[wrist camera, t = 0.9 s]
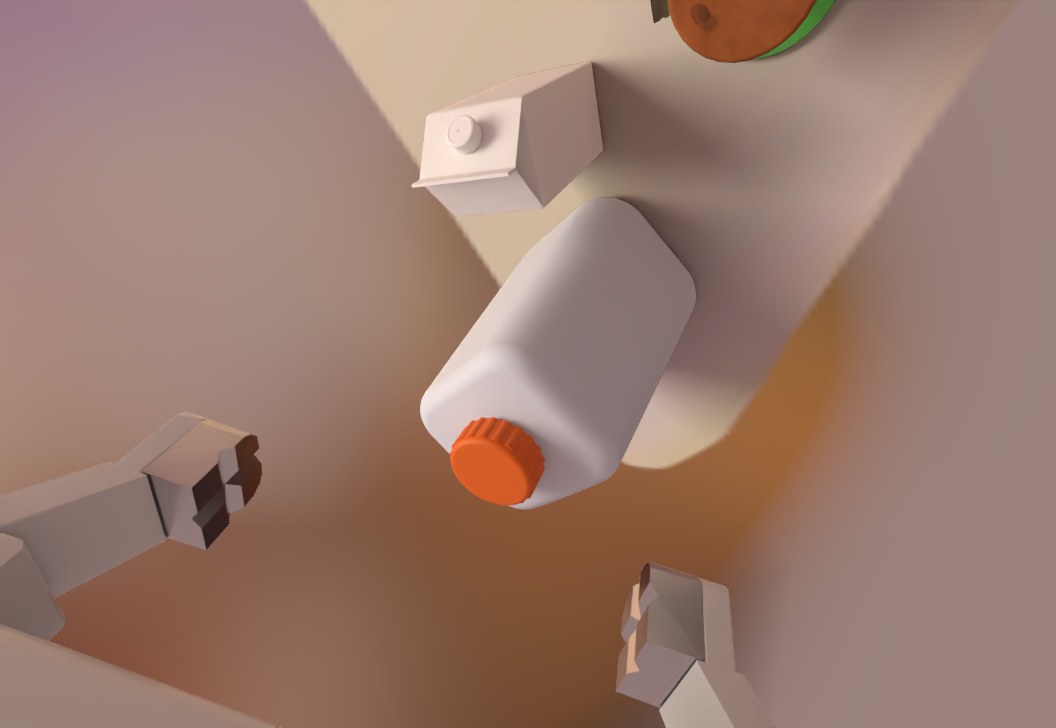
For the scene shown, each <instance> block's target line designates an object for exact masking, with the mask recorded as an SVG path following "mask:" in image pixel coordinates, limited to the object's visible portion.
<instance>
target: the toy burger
mask: <svg viewBox="0 0 1056 728" xmlns="http://www.w3.org/2000/svg"><path fill="white" fill-rule="evenodd" d="M834 1H835V0H651V8H652V14H653V21H654V23H656V22H658V21H659V20H660V19H661V18H662V17H665V18H667V17H669V12H670V15H671V18H672V21H673V24H674V26H675V28H676V30H677V32H678V33H679V35H680V36H681V38H682V40H683V41H684V42H685V43H686V44H687V45H688V46H689V47H690V48H691V49H692V50H693V51H695V52H697V53H698V54H700V55H702V56H703V57H705V58H708V59H711V60H715V61H718V62H729V63H736V62H742V61H748V60H752V59H758V58H763V57H767V56H770V55H773V54H776V53H779V52H781V51H783V50H785V49H787V48H789V47H790V46H792V45H794V44H795V43H797V42H798V41H800V40H801V39H802V38H803V37H805V36H806V35H807V34H808V33H809V32H810V31H811V30H812V29H813V28H815V26H816V25H817V24H818V23H819V22H820V21H821V20H822V18H823V17H824V16H825V15H826V13H827V12H828V11H829V9H830V7H831V6H832V4H833V3H834ZM668 6H669V8H668Z"/></svg>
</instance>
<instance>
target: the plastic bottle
mask: <svg viewBox="0 0 1056 728" xmlns="http://www.w3.org/2000/svg"><path fill="white" fill-rule="evenodd" d="M695 303H696V288H695V284H694V281H693V279H692V277H691V275H690V273H689V272H688V271H687V269H686V268H685V267H684V266H683V264H682V263H681V262H680V261H679V260H678V258H677V257H676V256H675V255H674V253H673V252H672V251H671V250H670V249H669V247H668V246H667V245H666V244H665V242H664V241H663V240H662V239H661V238H660V236H659V235H658V234H657V233H656V231H655V230H654V229H653V228H652V227H651V225H650V224H649V223H648V222H647V220H646V219H645V218H644V217H643V216H642V214H641V213H640V212H639V211H638V210H637V209H636V208H634V207H633V206H632V205H630V204H628V203H627V202H625V201H622V200H619V199H616V198H608V197H603V198H596V199H592V200H590V201H587V202H585V203H583V204H582V205H580V206H579V207H578V208H577V209H575V210H574V211H573V212H572V213H571V214H570V215H569V216H567V217H566V218H565V219H564V220H563V221H562V222H561V223H559V224H558V225H557V226H556V227H555V228H554V229H552V230H551V231H550V232H549V233H548V234H547V235H546V236H544V237H543V238H542V239H541V240H540V241H539V242H537V243H536V244H535V245H534V246H533V247H532V248H531V249H530V250H529V251H528V252H527V253H526V254H525V256H524V257H523V258H522V260H521V261H520V263H519V264H518V265H517V267H516V268H515V269H514V271H513V272H512V274H511V275H510V276H509V278H508V279H507V281H506V282H505V283H504V285H503V286H502V287H501V289H500V290H499V292H498V293H497V294H496V296H495V297H494V298H493V300H492V301H491V303H490V304H489V305H488V307H487V308H486V310H485V311H484V313H483V314H482V315H481V316H480V318H479V319H478V321H477V322H476V323H475V325H474V326H473V327H472V329H471V330H470V332H469V333H468V334H467V336H466V337H465V338H464V340H463V342H462V343H461V344H460V345H459V347H458V348H457V349H456V351H455V352H454V354H453V355H452V356H451V358H450V359H449V361H448V362H447V363H446V365H445V366H444V367H443V369H442V370H441V372H440V373H439V374H438V376H437V377H436V378H435V380H434V381H433V383H432V384H431V385H430V387H429V388H428V389H427V391H426V392H425V394H424V396H423V398H422V401H421V407H420V412H421V417H422V421H423V423H424V425H425V427H426V428H427V430H428V431H429V433H430V434H431V435H432V436H433V437H434V438H435V439H436V440H437V441H438V442H439V443H440V444H441V445H442V446H443V447H444V449H445V450H446V451H447V452H448V453H449V454H450V457H451V465H452V468H453V471H454V473H455V475H456V476H457V478H458V479H459V481H460V482H461V483H462V484H463V485H464V486H465V487H466V488H467V489H468V490H469V491H470V492H472V493H473V494H475V495H476V496H478V497H479V498H481V499H483V500H486V501H488V502H491V503H494V504H498V505H506V506H507V505H508V506H510V507H513V508H517V509H532V508H537V507H539V506H542V505H545V504H548V503H550V502H553V501H556V500H558V499H561V498H564V497H567V496H569V495H571V494H574V493H576V492H579V491H581V490H584V489H586V488H589V487H591V486H593V485H596V484H598V483H600V482H602V481H604V480H606V479H608V478H609V477H610V476H611V475H612V474H613V473H614V472H615V471H616V470H617V468H618V466H619V464H620V462H621V460H622V458H623V456H624V454H625V452H626V450H627V448H628V446H629V443H630V441H631V439H632V437H633V435H634V433H635V431H636V429H637V427H638V425H639V423H640V420H641V418H642V416H643V414H644V412H645V410H646V408H647V406H648V404H649V402H650V400H651V397H652V395H653V393H654V391H655V389H656V387H657V385H658V383H659V381H660V379H661V377H662V374H663V372H664V370H665V368H666V366H667V364H668V362H669V360H670V358H671V356H672V354H673V351H674V349H675V347H676V345H677V343H678V341H679V339H680V337H681V335H682V333H683V331H684V328H685V326H686V324H687V322H688V320H689V318H690V316H691V314H692V312H693V309H694V307H695Z"/></svg>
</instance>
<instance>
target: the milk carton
mask: <svg viewBox="0 0 1056 728" xmlns="http://www.w3.org/2000/svg"><path fill="white" fill-rule="evenodd" d="M602 151H603V144H602V136H601V129H600V121H599V114H598V107H597V99H596V92H595V84H594V77H593V70H592V63H591V62H585V63H580V64H575V65H570V66H565V67H560V68H556V69H551V70H546V71H541V72H537V73H532V74H527V75H522V76H518V77H515V78H512V79H510V80H508V81H505V82H503V83H501V84H498V85H496V86H494V87H491V88H489V89H487V90H484V91H482V92H480V93H477V94H475V95H473V96H470V97H468V98H465V99H463V100H461V101H458V102H456V103H454V104H451V105H449V106H447V107H444V108H442V109H440V110H437V111H435V112H433V113H431V114H429V115H428V116H427V118H426V126H425V135H424V144H423V154H422V163H421V172H420V180H419V181H417V182H416V183H414V184H412V187H413V188H414V187H422V186H425V187H426V188H427V189H428V190H429V191H430V192H431V193H432V194H433V195H434V196H435V197H436V198H437V199H438V200H439V201H440V202H441V203H442V204H444V205H445V206H446V207H447V208H448V209H449V210H450V211H451V212H452V213H453V214H454V215H455V216H470V215H481V214H492V213H503V212H514V211H525V210H535V209H543V208H544V207H545V206H546V205H547V204H548V203H549V202H550V201H551V200H553V199H554V198H555V197H556V196H557V195H558V194H559V193H560V192H561V191H562V190H563V189H564V188H565V187H566V186H567V185H568V184H569V183H570V182H571V181H572V180H573V179H574V178H575V177H576V176H577V175H578V174H579V173H580V172H581V171H582V170H584V169H585V168H586V167H587V166H588V165H589V164H590V163H591V162H592V161H593V160H594V159H595V158H596V157H597V156H598V155H599V154H600V153H601V152H602Z"/></svg>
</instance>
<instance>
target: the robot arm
mask: <svg viewBox="0 0 1056 728" xmlns="http://www.w3.org/2000/svg"><path fill="white" fill-rule="evenodd" d="M258 449H259V443H258V438H257V436H255V435H252V434H249V433H246V432H244V431H241V430H238V429H235V428H232V427H230V426H227V425H224V424H221V423H218V422H215V421H212V420H209V419H207V418H204V417H201V416H198V415H195V414H192V413H189V412H184V413H181V414H178V415H176V416H174V417H173V418H172V419H171V420H169V421H168V422H167V423H166V424H164V425H163V426H162V427H161V428H159V429H158V430H157V431H156V432H154V433H153V434H152V435H151V436H149V437H148V438H147V439H146V440H144V441H143V442H142V443H141V444H140V445H138V446H137V447H136V448H134V449H133V450H132V451H131V452H129V453H128V454H127V455H126V456H124V457H123V458H122V459H121V460H119V461H118V462H117V463H116V464H114V463H110V462H106V463H103V464H100V465H97V466H94V467H90V468H87V469H84V470H81V471H78V472H74V473H71V474H68V475H65V476H62V477H59V478H55V479H52V480H49V481H46V482H43V483H40V484H37V485H33V486H30V487H27V488H24V489H21V490H17V491H15V492H11V493H8V494H5V495H2V496H0V728H283V727H280V726H277V725H274V724H272V723H269V722H267V721H264V720H261V719H258V718H256V717H253V716H250V715H247V714H245V713H242V712H239V711H237V710H234V709H231V708H228V707H226V706H223V705H220V704H218V703H215V702H212V701H209V700H206V699H204V698H201V697H199V696H196V695H193V694H190V693H188V692H185V691H182V690H180V689H177V688H174V687H171V686H169V685H166V684H163V683H161V682H158V681H155V680H152V679H150V678H147V677H144V676H141V675H139V674H136V673H134V672H131V671H128V670H125V669H123V668H120V667H117V666H114V665H112V664H109V663H106V662H104V661H101V660H98V659H95V658H93V657H90V656H87V655H85V654H82V653H79V652H77V651H74V650H71V649H68V648H66V647H63V646H60V645H57V644H55V643H52V642H49V640H50V639H51V638H52V637H53V636H54V635H55V634H56V633H57V632H58V631H59V630H60V629H61V628H62V627H63V626H64V624H65V616H64V614H63V613H62V611H61V609H60V607H59V605H58V603H57V601H56V600H55V598H56V597H58V596H60V595H61V594H63V593H65V592H67V591H69V590H71V589H73V588H75V587H77V586H79V585H81V584H83V583H85V582H87V581H89V580H90V579H92V578H94V577H96V576H98V575H100V574H102V573H104V572H105V571H108V570H110V569H112V568H114V567H115V566H117V565H119V564H121V563H123V562H125V561H127V560H129V559H131V558H133V557H135V556H136V555H139V554H140V553H142V552H144V551H146V550H148V549H150V548H152V547H154V546H156V545H158V544H160V543H162V542H163V541H165V540H166V538H169V539H172V540H175V541H179V542H182V543H185V544H189V545H191V546H195V547H198V548H201V549H204V550H207V549H208V548H209V547H210V545H211V544H212V543H213V542H214V541H215V540H216V539H217V538H218V536H219V535H220V534H221V533H222V532H223V531H224V530H225V528H226V527H227V526H228V525H229V524H230V523H229V522H230V513H231V512H234V511H236V510H238V509H241V508H243V507H245V506H246V504H247V503H248V502H249V501H250V500H251V498H252V497H253V496H254V494H255V492H256V490H257V488H258V486H259V484H260V482H261V476H262V465H261V463H260V461H259V460H258V459H257V458H256V456H255V455H254V453H255V452H256V451H257V450H258ZM621 634H622V636H623V638H624V640H625V642H626V644H625V646H624V648H623V650H622V651H621V653H620V655H619V660H618V673H617V683H616V691H617V692H619V693H622V694H624V695H627V696H630V697H632V698H635V699H638V700H640V701H643V702H646V703H649V704H651V705H654V706H656V707H659V708H660V710H659V711H660V713H661V716H662V718H663V721H664V724H665V726H666V728H776V727H775V725H774V724H773V722H772V720H771V719H770V717H769V716H768V714H767V712H766V711H765V709H764V707H763V706H762V704H761V703H760V701H759V699H758V697H757V696H756V694H755V693H754V691H753V689H752V688H751V686H750V684H749V683H748V681H747V679H746V678H745V676H744V675H741V674H738V673H736V667H735V656H734V646H733V634H732V622H731V612H730V600H729V592H728V590H727V588H726V587H725V586H722V585H719V584H716V583H713V582H710V581H707V580H704V579H700V578H698V577H696V576H693V575H689V574H686V573H683V572H680V571H677V570H673V569H670V568H667V567H664V566H661V565H657V564H654V563H650V562H647V563H646V564H645V565H644V567H643V569H642V571H641V572H640V583H639V584H637V585H634V586H633V588H632V590H631V592H630V594H629V596H628V599H627V602H626V606H625V609H624V614H623V620H622V629H621Z"/></svg>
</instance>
